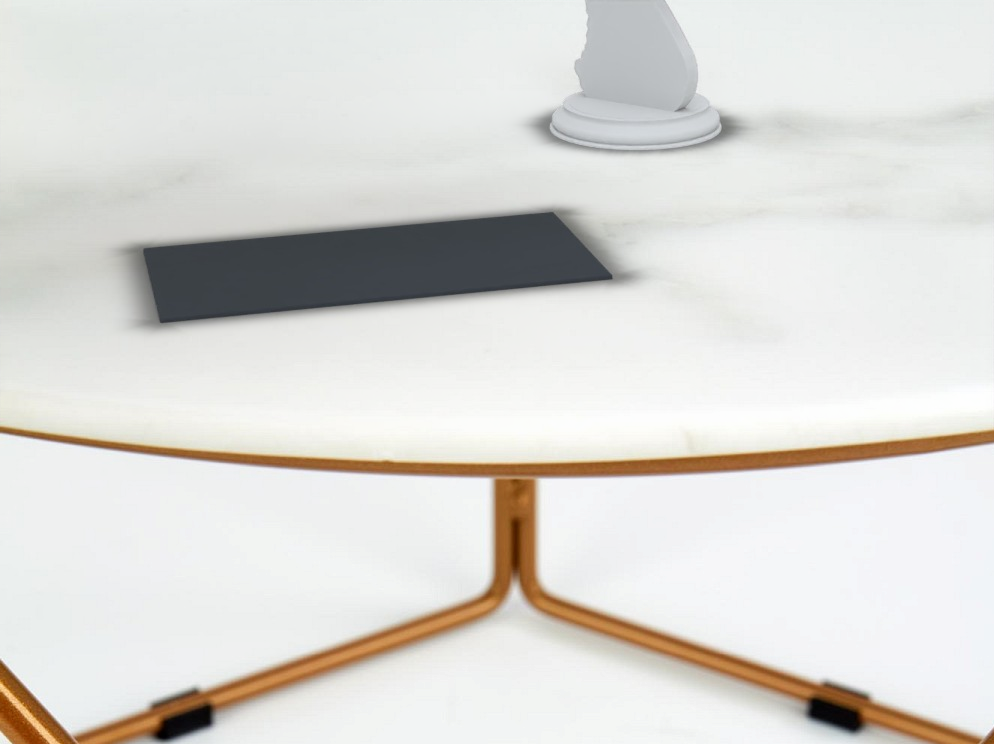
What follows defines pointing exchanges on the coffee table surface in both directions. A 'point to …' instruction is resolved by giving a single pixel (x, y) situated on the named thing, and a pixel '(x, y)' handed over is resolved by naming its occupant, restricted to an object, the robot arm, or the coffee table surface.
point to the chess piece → (635, 82)
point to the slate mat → (366, 266)
